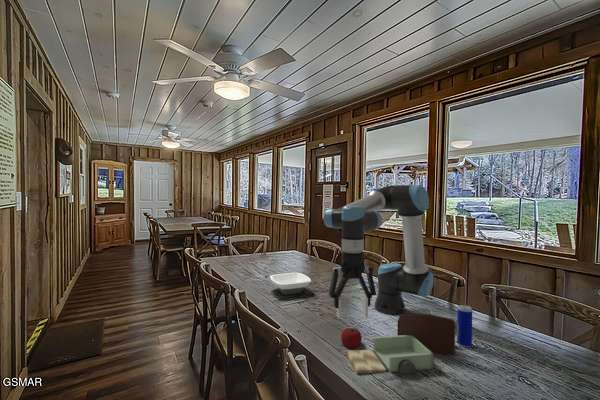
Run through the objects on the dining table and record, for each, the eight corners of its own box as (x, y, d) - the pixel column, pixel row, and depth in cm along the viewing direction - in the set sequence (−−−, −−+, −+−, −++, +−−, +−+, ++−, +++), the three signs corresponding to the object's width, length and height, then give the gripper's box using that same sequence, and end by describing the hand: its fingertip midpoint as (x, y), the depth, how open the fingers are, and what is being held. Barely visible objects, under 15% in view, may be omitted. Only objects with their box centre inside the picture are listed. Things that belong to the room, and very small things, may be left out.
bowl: (314, 295, 176) (314, 281, 175) (277, 300, 167) (277, 285, 167) (300, 284, 196) (300, 271, 196) (266, 288, 188) (266, 275, 187)
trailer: (371, 350, 114) (371, 334, 114) (408, 347, 116) (409, 332, 116) (393, 379, 96) (393, 360, 96) (436, 375, 98) (436, 357, 98)
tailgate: (373, 352, 111) (345, 353, 110) (373, 349, 111) (345, 350, 109) (388, 373, 99) (357, 373, 97) (389, 369, 99) (357, 370, 97)
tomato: (362, 343, 120) (362, 325, 119) (360, 353, 112) (360, 334, 112) (342, 340, 122) (342, 322, 122) (339, 350, 114) (339, 331, 114)
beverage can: (458, 340, 122) (459, 303, 122) (472, 344, 119) (473, 306, 119) (455, 344, 118) (456, 307, 118) (470, 349, 115) (471, 310, 115)
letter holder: (455, 356, 110) (455, 318, 110) (398, 348, 115) (398, 312, 115) (449, 343, 120) (449, 308, 120) (397, 337, 125) (397, 303, 125)
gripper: (324, 254, 97) (324, 322, 98) (387, 252, 100) (386, 318, 101) (319, 249, 105) (319, 313, 105) (378, 248, 108) (377, 310, 108)
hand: (352, 316), depth 103 cm, fingers open, 9 cm apart
